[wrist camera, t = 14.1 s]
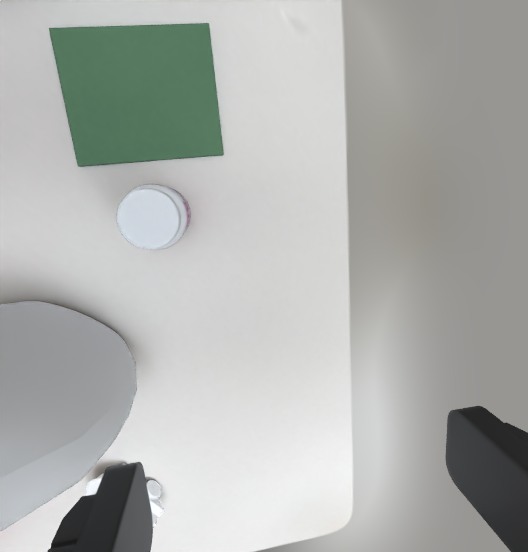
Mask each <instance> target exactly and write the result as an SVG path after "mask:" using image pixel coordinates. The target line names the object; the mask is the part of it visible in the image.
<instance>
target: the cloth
mask: <svg viewBox="0 0 528 552" xmlns="http://www.w3.org/2000/svg"><path fill="white" fill-rule="evenodd" d="M49 31H50V36H51V40H52V45H53V50H54V55H55V59H56V64H57V69H58V74H59V78H60V83H61V88H62V93H63V97H64V102H65V107H66V112H67V116H68V121H69V126H70V131H71V136H72V140H73V145H74V150H75V155H76V159H77V164H78V166H80V167H81V166H93V165H105V164H118V163H130V162H143V161H155V160H168V159H180V158H193V157H205V156H218V155H223V145H222V136H221V128H220V119H219V110H218V101H217V92H216V84H215V75H214V66H213V57H212V48H211V40H210V31H209V24H208V23H204V24H171V25H139V26H106V27H73V28H49Z"/></svg>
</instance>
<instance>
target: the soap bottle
mask: <svg viewBox="0 0 528 552" xmlns="http://www.w3.org/2000/svg"><path fill="white" fill-rule="evenodd" d="M136 390H137V382H136V364H135V361H134V359H133V357H132V355H131V353H130V351H129V349H128V347H127V345H126V343H125V342H124V340H123V339H122V338H121V337H120V336H119V335H118V334H117V333H116V332H115V331H113V330H112V329H110V328H108V327H107V326H105V325H104V324H102V323H100V322H99V321H97V320H94V319H92V318H90V317H88V316H86V315H84V314H82V313H79V312H76V311H73V310H70V309H68V308H65V307H62V306H59V305H54V304H49V303H45V302H40V301H22V302H17V303H9V304H0V531H2V530H4V529H6V528H7V527H9V526H10V525H12V524H14V523H15V522H17V521H18V520H20V519H21V518H23V517H25V516H26V515H28V514H29V513H31V512H32V511H34V510H36V509H37V508H39V507H40V506H42V505H43V504H45V503H47V502H48V501H50V500H51V499H53V498H54V497H56V496H58V495H59V494H61V493H62V492H64V491H65V490H67V489H69V488H70V487H72V486H73V485H75V484H76V483H78V482H79V481H80V480H82V479H83V478H84V476H85V475H86V474H87V473H88V472H89V471H90V469H91V468H92V467H93V466H94V465H95V463H96V462H97V461H98V460H99V459H100V458H101V456H102V455H103V454H104V453H105V452H106V450H107V449H108V448H109V447H110V446H111V444H112V443H113V442H114V440H115V439H116V437H117V435H118V433H119V432H120V430H121V428H122V426H123V425H124V423H125V421H126V419H127V418H128V416H129V413H130V410H131V407H132V404H133V400H134V397H135V394H136Z"/></svg>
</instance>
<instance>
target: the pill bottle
mask: <svg viewBox="0 0 528 552" xmlns="http://www.w3.org/2000/svg"><path fill="white" fill-rule="evenodd" d="M189 222H190V208H189V205H188V203H187V201H186V200H185V198H184V197H183V196H182V195H181V194H180V193H179V192H177V191H176V190H174V189H172V188H169V187H165V186H162V185H157V184H146V185H142V186H139V187H136V188H134V189H133V190H131V191H130V192H129V193H128V194H127V195H126V196H125V197H124V198H123V200H122V201H121V203H120V204H119V207H118V210H117V224H118V227H119V230H120V232H121V233H122V235H123V236H124V238H125V239H126V240H127V241H129V242H130V243H131V244H133V245H135V246H137V247H139V248H143V249H150V250H160V249H165V248H167V247H170V246H172V245H173V244H175V243H176V242H177V241H178V240H179V239H180V238H181V237H182V235H183V234H184V232H185V231H186V229H187V227H188V225H189Z"/></svg>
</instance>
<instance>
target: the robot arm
mask: <svg viewBox="0 0 528 552" xmlns="http://www.w3.org/2000/svg"><path fill="white" fill-rule="evenodd" d="M446 465H447V468H448V471H449V474H450V476H451V478H452V480H453V482H454V483H455V485H456V486H457V487H458V489H459V490H460V491H461V492H462V493H463V494H464V496H465V497H466V498H467V499H468V500H469V502H470V503H471V504H472V505H473V507H474V508H475V509H476V510H477V511H478V513H479V514H480V515H481V516H482V517H483V519H484V520H485V521H486V522H487V523H488V525H489V526H490V527H491V528H492V529H493V531H494V532H495V533H496V534H497V535H498V537H499V538H500V539H501V540H502V541H503V542H504V544H505V545H506V546H507V547H508V548H509V550H510V551H511V552H528V433H527V432H525V431H523V430H521V429H519V428H517V427H515V426H512V425H510V424H508V423H503V422H502V421H501V420H499V419H498V418H497V417H496V416H494V415H493V414H492V413H490V412H489V411H488V410H487V409H485V408H483V407H481V406H475V407H469V408H463V409H457V410H452V411H450V413H449V415H448V423H447V443H446ZM152 534H153V519H152V511H151V505H150V500H149V495H148V490H147V485H146V480H145V475H144V470H143V466H142V464H141V462H137V463H131V464H125V465H119V466H113V467H108V468H107V469H106V470H105V472H104V474H103V477H102V480H101V482H100V485H99V487H98V490H97V492H96V494H94V495H88V496H82V497H81V498H80V500H79V501H78V502H77V503H76V504H75V505H74V506H73V508H72V509H71V510H70V511H69V512H68V513H67V515H66V516H65V517H64V518H63V520H62V522H61V524H60V526H59V528H58V530H57V533H56V535H55V537H54V539H53V541H52V543H51V549H49V550H48V552H150V550H151V544H152Z"/></svg>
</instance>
